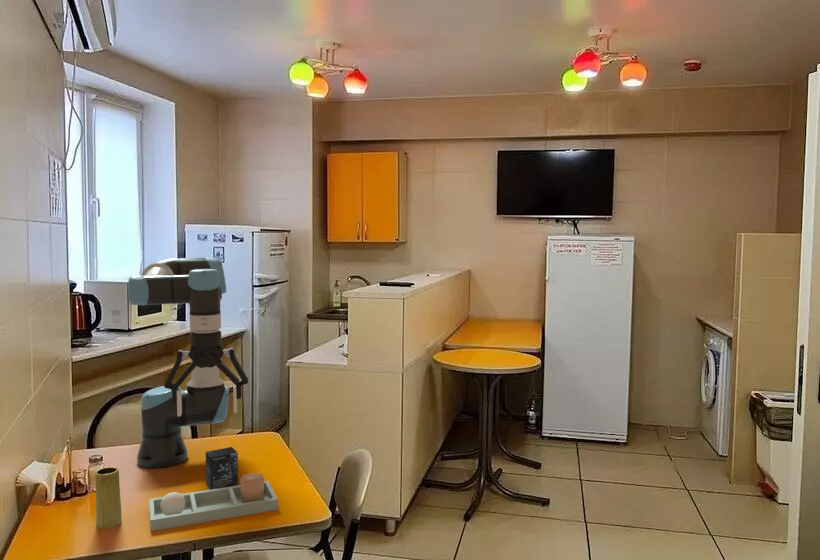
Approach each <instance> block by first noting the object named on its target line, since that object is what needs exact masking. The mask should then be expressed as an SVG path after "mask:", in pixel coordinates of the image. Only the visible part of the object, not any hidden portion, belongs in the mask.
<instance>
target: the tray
mask: <svg viewBox="0 0 820 560" xmlns="http://www.w3.org/2000/svg"><path fill="white" fill-rule="evenodd" d="M180 494H181V495H182V496H183V497H184V499H185V508H184V510H183V511H182V513H180V514H174V515H168V516H166V515H164V514H163V512H162V511H161V507H160V505H161V501H162V499H163V498H164V496H161V497H154V498H149V522H150V523H149V525H150V532H154V531H161V530H167V529H173V528H178V527H184V526H190V525H195V524H201V523H207V522H213V521H218V520H225V519H230V518H237V517H243V516H247V515H248V516H249V515H254V514H260V513H266V512H272V511H273V512H274V511H278V510H279V499H278V497H277V495H276V493H275V491H274V489H273V486H272V485H271V483H270V481H269V480H264V500H259V501H253V502H247V503H241V484H238V485H235V486H231V487H225V488H218V489H212V490H210V489H206V490H200V491H199V490H198V491H194V492H193V491H192V492H185V493H180Z"/></svg>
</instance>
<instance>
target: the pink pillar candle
mask: <svg viewBox="0 0 820 560" xmlns="http://www.w3.org/2000/svg"><path fill="white" fill-rule="evenodd" d="M264 479H265V477H264V475H263V474H262V473H256V472H253V473H247V474H243V475H242V476H241V477H240V485H241V503H247V502H253V501H259V500H264V481H265V480H264Z"/></svg>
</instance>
